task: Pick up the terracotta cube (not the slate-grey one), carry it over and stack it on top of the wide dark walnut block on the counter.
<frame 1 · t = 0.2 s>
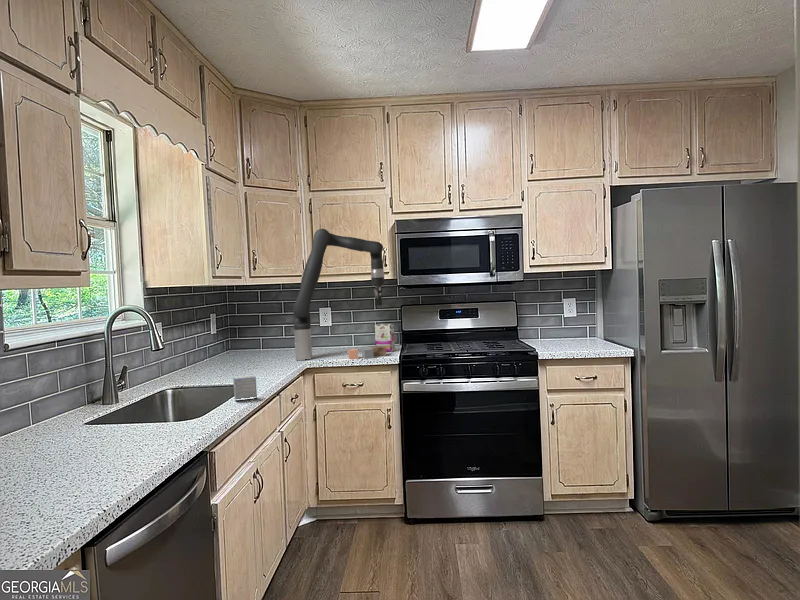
hand: (378, 304, 316), 28 cm above the worktop, tool pointing down, fingers open, 8 cm apart
candy bar box: (385, 351, 328), on the worktop
walnut block: (379, 355, 312), on the worktop
terracotta cube: (353, 358, 304), on the worktop
slate cube: (368, 358, 303), on the worktop
medicine box: (245, 400, 208), on the worktop
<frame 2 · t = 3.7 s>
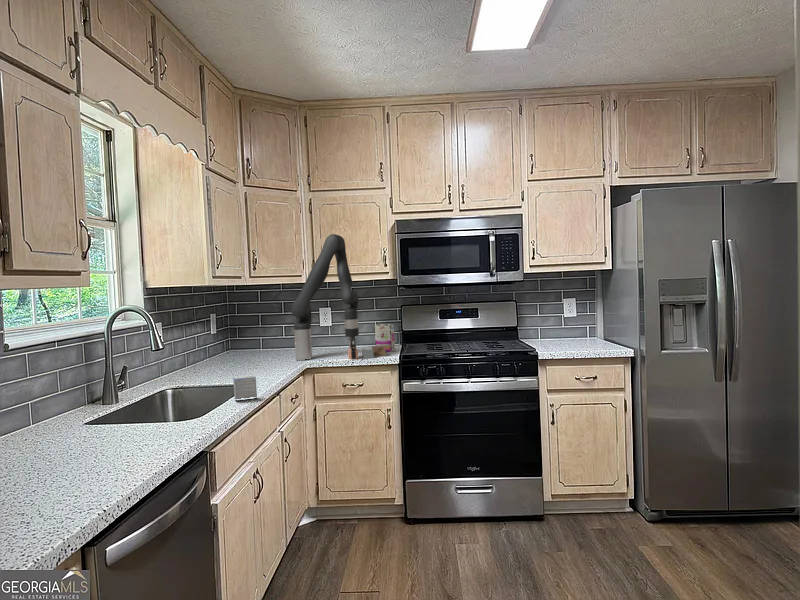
hand: (353, 357, 304), 0 cm above the worktop, tool pointing down, fingers closed on terracotta cube, 5 cm apart
terracotta cube: (353, 358, 304), on the worktop, touching gripper
everything else where it was.
when the fingers open (7 cm above the worktop, at t = 8.2 s): terracotta cube drops 1 cm, resting on walnut block.
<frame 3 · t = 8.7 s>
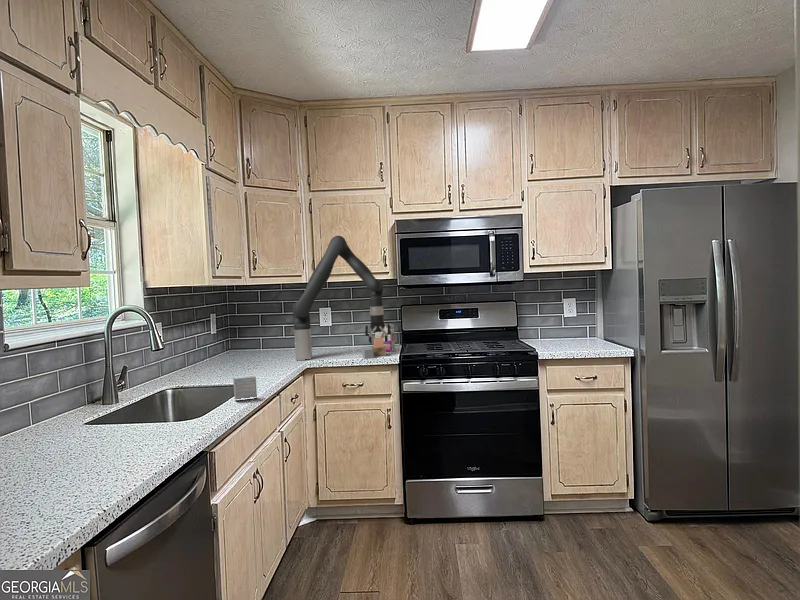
hand: (378, 342, 311), 7 cm above the worktop, tool pointing down, fingers open, 8 cm apart
walnut block: (379, 355, 312), on the worktop, touching terracotta cube
terracotta cube: (378, 347, 311), point 5 cm above the worktop, touching walnut block
everything else where it was.
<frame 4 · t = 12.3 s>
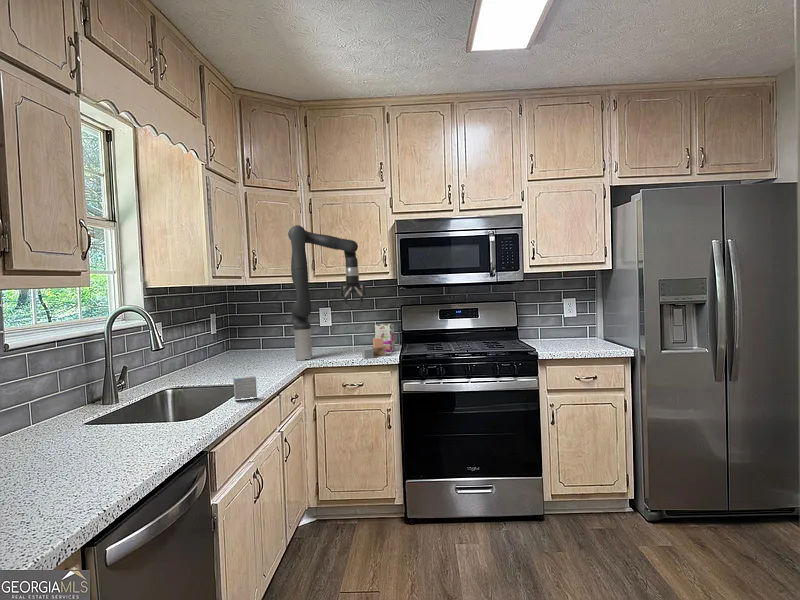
hand: (353, 303, 318), 30 cm above the worktop, tool pointing down, fingers open, 8 cm apart
nothing on the worktop moved.
at the end: terracotta cube 0.3 cm off-centre on the walnut block, point 5.0 cm above the walnut block's base; terracotta cube touching walnut block; the gripper is holding nothing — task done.
